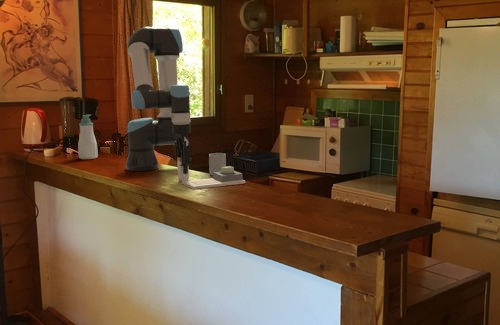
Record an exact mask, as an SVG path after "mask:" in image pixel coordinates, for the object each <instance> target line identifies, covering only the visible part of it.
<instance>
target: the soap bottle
mask: <svg viewBox="0 0 500 325" xmlns="http://www.w3.org/2000/svg"><path fill="white" fill-rule="evenodd" d="M91 116H92V114H84V115H82V118H81V122H80V123H78V125H79V137H78V138H79V139H78V141H77V142H78V143H77V144H78V145H77V152H78V158H79V159H80V160H94V159H95V160H96V159H97V158H98V156H99V154H98V153H99V152H98V143H97V140H96V136H95V133H94V123H93V122H92V121H91V118H90V117H91Z"/></svg>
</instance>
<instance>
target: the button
mask: <svg viewBox="0 0 500 325" xmlns="http://www.w3.org/2000/svg"><path fill="white" fill-rule="evenodd" d="M234 169H235V167H234V166H231V165H229V166H227V165H226V167H221V174H223V175H227V174H234V171H235V170H234Z"/></svg>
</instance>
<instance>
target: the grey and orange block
mask: <svg viewBox="0 0 500 325" xmlns="http://www.w3.org/2000/svg"><path fill="white" fill-rule="evenodd" d="M176 163H177V165H176V166H177V180H178V179H179V180H178V181H180V183H181V182H182V174H181V166H180V165H182V159H181V157H177V162H176ZM189 168H190V167H189V165H188V175H189V176H190V169H189ZM182 183H183V182H182Z"/></svg>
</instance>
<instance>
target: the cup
mask: <svg viewBox="0 0 500 325" xmlns="http://www.w3.org/2000/svg"><path fill="white" fill-rule="evenodd" d="M226 155H227V154H226V153H222V152H215V153H209V154H208V164H209V165H208V166H209V172H208V173H209V175H210V176H211V177H213V172H221V167H226V166H227V157H226Z"/></svg>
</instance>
